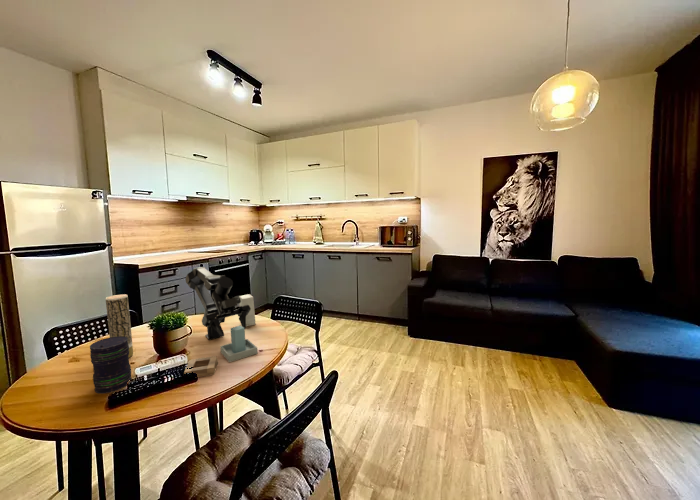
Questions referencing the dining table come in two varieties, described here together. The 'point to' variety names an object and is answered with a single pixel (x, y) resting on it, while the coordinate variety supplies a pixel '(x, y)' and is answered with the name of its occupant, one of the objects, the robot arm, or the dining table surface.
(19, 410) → the dining table surface
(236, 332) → the peg
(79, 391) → the dining table surface
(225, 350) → the tray
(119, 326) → the bark covered log
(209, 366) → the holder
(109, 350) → the dark grey cylinder
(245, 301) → the skincare box
